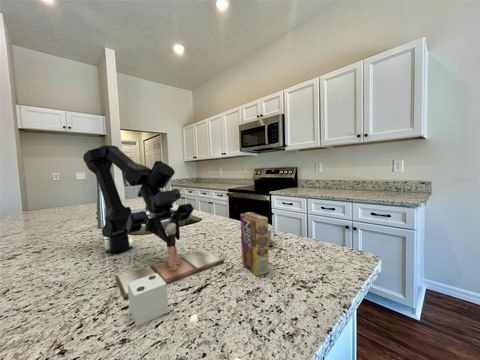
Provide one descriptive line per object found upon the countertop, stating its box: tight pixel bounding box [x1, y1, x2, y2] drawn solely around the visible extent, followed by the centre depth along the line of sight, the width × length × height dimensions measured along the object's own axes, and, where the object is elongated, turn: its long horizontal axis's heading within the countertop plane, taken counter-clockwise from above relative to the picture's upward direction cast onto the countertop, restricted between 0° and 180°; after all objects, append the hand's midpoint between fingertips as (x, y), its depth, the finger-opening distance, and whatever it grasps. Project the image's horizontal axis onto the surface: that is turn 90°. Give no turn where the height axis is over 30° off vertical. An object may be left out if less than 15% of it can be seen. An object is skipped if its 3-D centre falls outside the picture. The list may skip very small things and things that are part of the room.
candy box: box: [240, 211, 270, 277], centre depth 60 cm, size 9×4×15 cm, turn 26°
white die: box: [127, 273, 169, 327], centre depth 44 cm, size 6×6×6 cm
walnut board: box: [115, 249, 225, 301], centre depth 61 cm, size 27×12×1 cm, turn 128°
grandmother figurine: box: [164, 222, 179, 271], centre depth 61 cm, size 8×4×13 cm, turn 36°
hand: (173, 240), depth 60 cm, fingers closed on grandmother figurine, 3 cm apart
